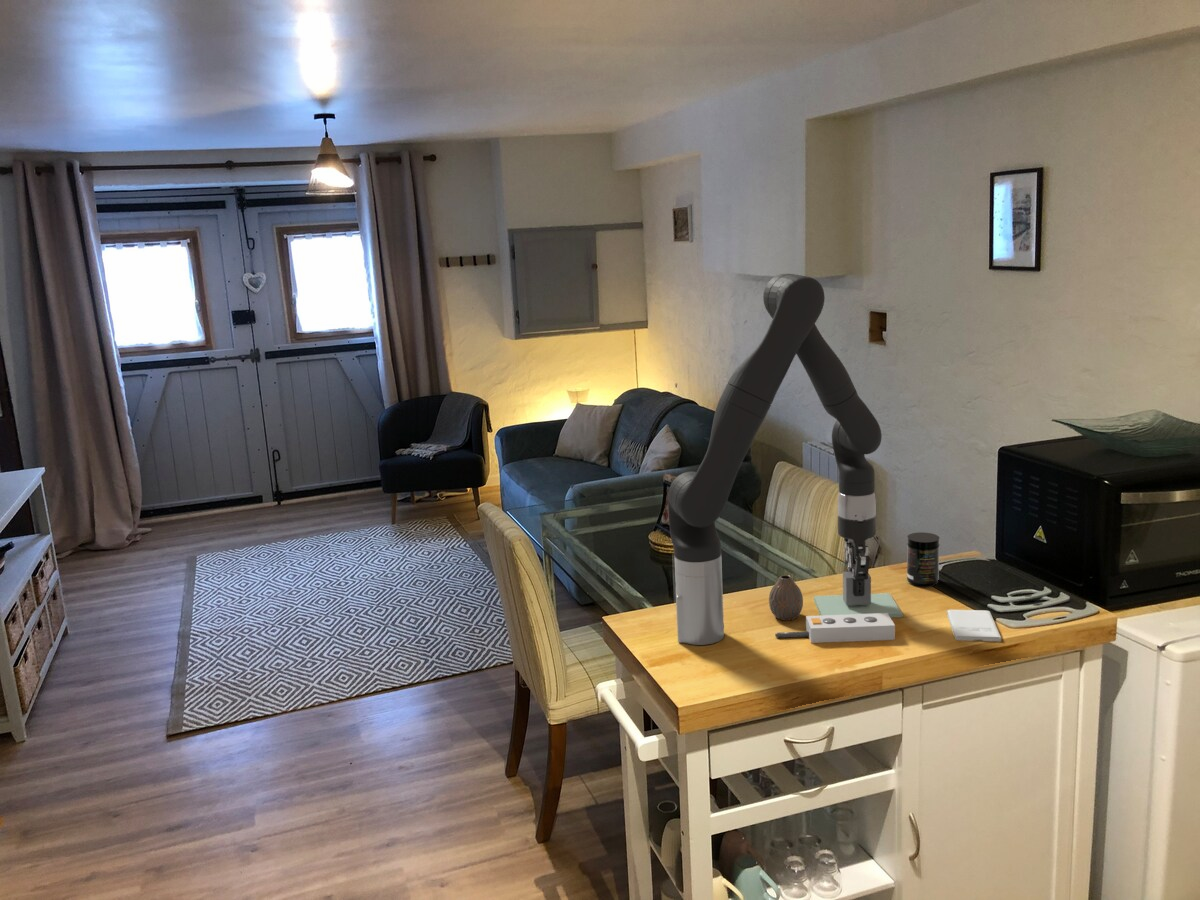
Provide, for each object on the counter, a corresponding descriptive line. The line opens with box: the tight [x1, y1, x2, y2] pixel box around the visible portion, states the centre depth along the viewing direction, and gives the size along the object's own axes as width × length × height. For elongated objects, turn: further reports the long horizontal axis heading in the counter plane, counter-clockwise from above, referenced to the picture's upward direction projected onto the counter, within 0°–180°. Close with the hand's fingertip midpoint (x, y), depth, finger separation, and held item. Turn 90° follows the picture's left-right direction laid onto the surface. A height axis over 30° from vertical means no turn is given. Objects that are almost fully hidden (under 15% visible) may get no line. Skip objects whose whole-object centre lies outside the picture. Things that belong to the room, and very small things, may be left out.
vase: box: [768, 574, 804, 621], centre depth 203 cm, size 7×7×9 cm
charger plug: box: [842, 571, 872, 605], centre depth 205 cm, size 5×4×6 cm
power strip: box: [774, 613, 896, 644], centre depth 194 cm, size 22×6×3 cm, turn 87°
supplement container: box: [906, 532, 941, 588], centre depth 217 cm, size 7×7×10 cm
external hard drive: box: [946, 609, 1002, 642], centre depth 194 cm, size 2×8×12 cm
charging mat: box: [813, 592, 903, 619], centre depth 206 cm, size 16×11×1 cm
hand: (856, 591), depth 205 cm, fingers closed on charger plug, 3 cm apart
